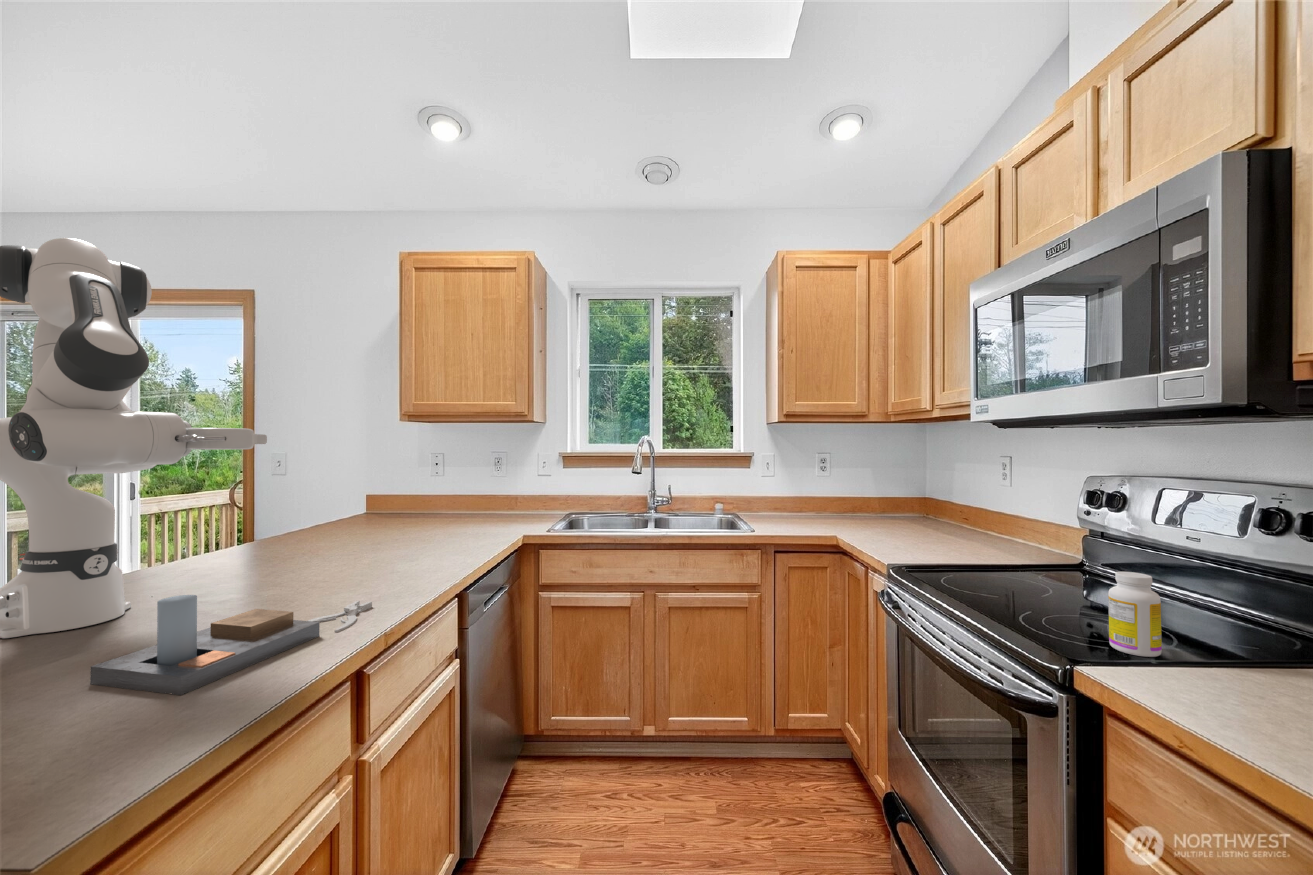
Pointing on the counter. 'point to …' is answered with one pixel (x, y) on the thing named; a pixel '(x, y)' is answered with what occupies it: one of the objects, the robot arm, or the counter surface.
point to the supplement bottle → (1135, 615)
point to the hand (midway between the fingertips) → (248, 439)
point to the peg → (176, 629)
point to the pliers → (349, 611)
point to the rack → (209, 653)
